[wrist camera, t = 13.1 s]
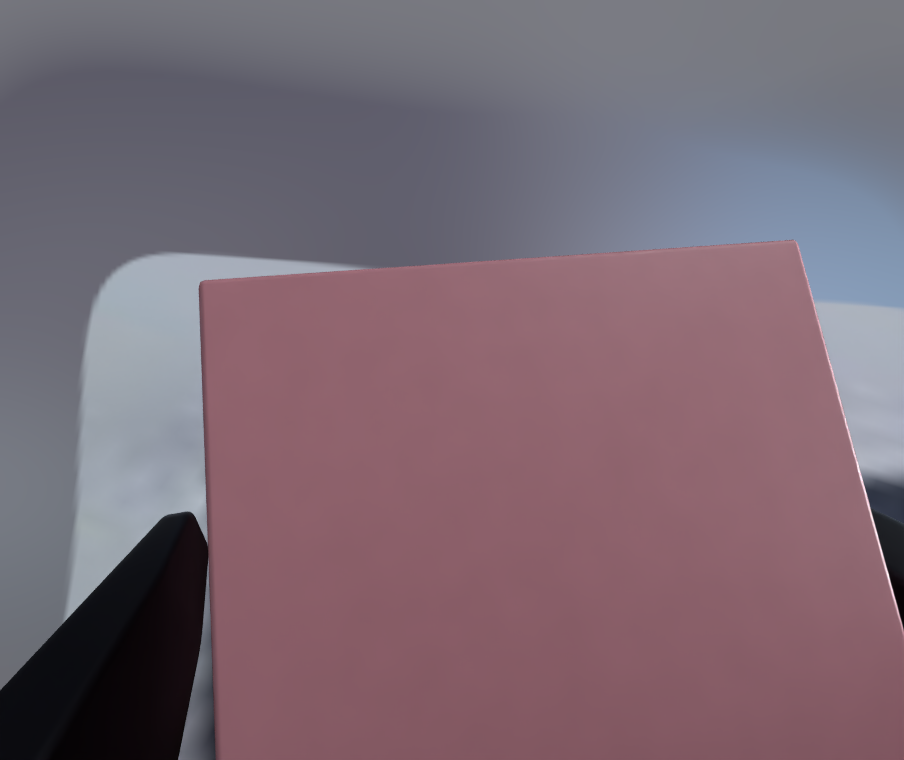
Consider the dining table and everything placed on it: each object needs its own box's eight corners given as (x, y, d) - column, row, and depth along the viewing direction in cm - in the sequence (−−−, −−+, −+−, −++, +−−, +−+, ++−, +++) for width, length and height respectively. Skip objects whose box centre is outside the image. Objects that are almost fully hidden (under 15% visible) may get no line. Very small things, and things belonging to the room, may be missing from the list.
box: (542, 623, 17) (1024, 1050, 4) (357, 655, 16) (233, 1324, 3) (511, 412, 18) (799, 237, 5) (337, 431, 17) (195, 279, 4)
